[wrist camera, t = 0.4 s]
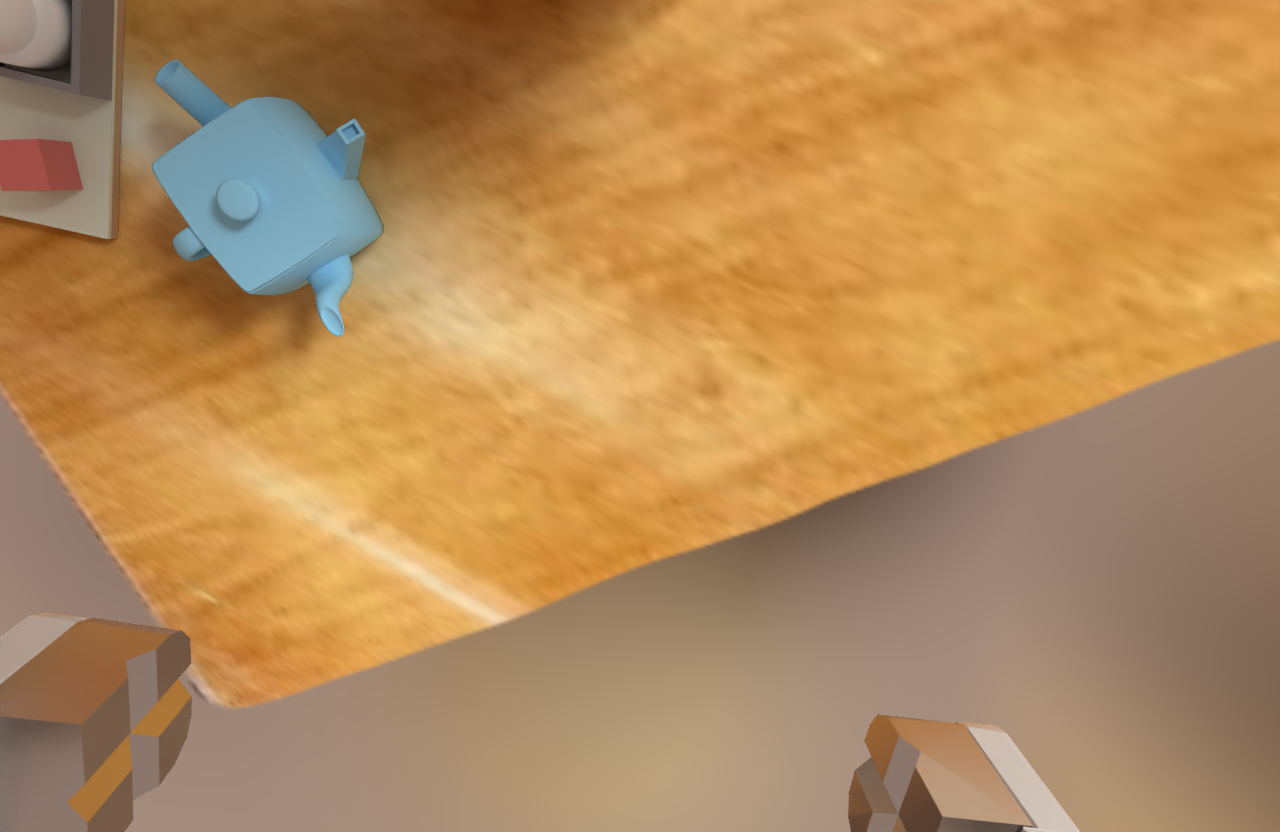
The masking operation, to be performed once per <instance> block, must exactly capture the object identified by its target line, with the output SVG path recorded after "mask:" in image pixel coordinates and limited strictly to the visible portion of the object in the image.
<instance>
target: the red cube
mask: <svg viewBox="0 0 1280 832" xmlns="http://www.w3.org/2000/svg"><path fill="white" fill-rule="evenodd" d="M0 187H1V191H60V190H83V187H82V183H81V179H80V175H79V170H78V166H77V162H76V158H75V154H74V150H73V146H72V142H65V141H55V140H45V139H12V140H0Z"/></svg>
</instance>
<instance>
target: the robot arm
mask: <svg viewBox="0 0 1280 832" xmlns="http://www.w3.org/2000/svg"><path fill="white" fill-rule="evenodd" d="M190 664H191V647H190V638H189V637H188V636H187V635H186V634H185V633H184V632H183V631H181V630H174V629H167V628H160V627H152V626H145V625H138V624H131V623H123V622H117V621H110V620H103V619H95V618H91V619H88V618H85V617H79V616H71V615H63V614H55V613H47V612H44V613H40V614H35V615H30V616H28V617H26V618H25V619H24V620H22V621H21V622H20V623H19V624H17V625H15V626H14V627H13V628H11V629H10V630H9V631H7V632H6V633H4V634H3V635H2V636H0V832H124V831H125V830H126V829H127V828H128V826H129V825H130V824H131V822H132V821H133V800H134V799H136V798H137V797H139V796H141V795H143V794H145V793H146V792H148V791H150V790H152V789H154V788H155V787H157V786H159V785H160V784H161V782H162V781H163V780H164V778H165V777H166V775H167V774H168V773H169V771H170V770H171V769H172V767H173V766H174V764H175V762H176V760H177V758H178V756H179V754H180V751H181V749H182V747H183V744H184V742H185V740H186V738H187V734H188V729H189V724H190V719H191V704H192V701H191V700H192V699H191V698H192V697H191V695H190V694H189V693H188V691H187V690H186V689H185V687H184V686H183V685H182V684H181V682H180V681H179V680H178V678H179V677H180V676H181V675H182V673H183V672H184V671H185V670H186V669H187V668H188V667H189V665H190ZM865 743H866V745H867V747H868V750H869V752H870V754H871V756H872V757H871V758H870V759H868V760H867V761H866V762H865V763H863V764H862V765H861V766H860V767H859V768H857V769H856V770H855V772H854V776H853V779H852V783H851V787H850V791H849V809H848V811H849V812H848V818H849V823H850V828H851V832H1080V831H1079V830H1078V829H1077V827H1076V826H1075V825H1074V823H1073V822H1072V821H1071V819H1070V818H1069V817H1068V815H1067V814H1066V813H1065V811H1064V810H1063V809H1062V807H1061V806H1060V804H1059V803H1058V802H1057V800H1056V799H1055V798H1054V796H1053V795H1052V794H1051V792H1050V791H1049V790H1048V788H1047V787H1046V786H1045V784H1044V783H1043V782H1042V780H1041V779H1040V778H1039V776H1038V775H1037V774H1036V772H1035V771H1034V770H1033V768H1032V767H1031V765H1030V764H1029V763H1028V762H1027V760H1026V759H1025V757H1024V756H1023V755H1022V753H1021V752H1020V751H1019V749H1018V748H1017V747H1016V746H1015V744H1014V743H1013V741H1012V740H1011V739H1010V737H1009V736H1008V735H1007V733H1006V732H1004V731H1003V730H1001V729H1000V728H998V727H997V726H995V725H987V724H975V723H964V722H955V723H949V722H939V721H931V720H922V719H914V718H905V717H897V716H896V717H895V716H888V715H879V714H878V715H877V716H876V717H875V718H874V720H873V721H872V722H871V724H870V726H869V729H868V732H867V735H866V738H865Z"/></svg>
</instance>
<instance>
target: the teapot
mask: <svg viewBox="0 0 1280 832" xmlns="http://www.w3.org/2000/svg"><path fill="white" fill-rule="evenodd" d="M154 81H155V83H156V84H157V85H158V86H160V87H161V88H162V89H163V90H164V91H165V92H166V93H167V94H168V95H169V96H171V97H172V98H173V99H174V100H175V101H176V102H177V103H178V104H179V105H180V106H181V107H183V108H184V109H185V110H186V111H187V112H188V113H189V114H190V115H191V116H192V117H194V118H195V119H196V120H197V121H198V122H199V123H200V124H201V125H202V126H203V127H202V128H201V129H199V130H198V131H196V132H195V133H193V134H192V135H190V136H189V137H188V138H186V139H185V140H183V141H182V142H180V143H179V144H177V145H176V146H175V147H173V148H172V149H170V150H169V151H168V152H166V153H165V154H164V155H162V156H161V157H160V158H159V159H157V160H156V161H155V162H154V163H153V164H152V169H153V172H154V174H155V175H156V177H157V179H158V181H159V182H160V184H161V186H162V187H163V189H164V190H165V192H166V193H167V195H168V196H169V198H170V199H171V201H172V202H173V203H174V205H175V206H176V208H177V209H178V211H179V212H180V213H181V215H182V216H183V218H184V219H185V220H186V222H187V223H188V225H189V226H188V227H187V228H185V229H184V230H182V231H181V232H180V233H178V234H177V235H176V236H175V237H174V239H173V246H174V248H175V250H176V252H177V253H178V254H179V256H180V257H182V258H183V259H184V260H186V261H195V260H198V259H201V258H204V257H207V256H210V255H213V257H214V258H215V259H216V260H217V261H218V263H219V264H220V265H221V266H222V268H223V269H224V270H225V271H226V272H227V273H228V275H229V276H230V277H231V278H232V279H233V280H234V281H235V282H236V283H237V284H238V286H239V287H241V288H242V289H243V290H244V291H245V292H247V293H249V294H256V295H279V294H285V293H289V292H292V291H295V290H297V289H299V288H301V287H302V286H304V285H306V284H308V283H310V285H311V286H312V288H313V290H314V292H315V294H316V307H317V311H318V314H319V316H320V318H321V320H322V322H323V324H324V325H325V326H326V328H327V329H328V330H329V331H330V332H331V333H332V334H334V335H335V336H342V335H343V333H344V324H343V321H342V318H341V315H340V312H339V302H340V300H341V299H342V297H343V296H344V295H345V294H346V292H347V291H348V289H349V288H350V286H351V283H352V280H353V268H352V264H351V260H350V257H352V256H353V255H355V254H356V253H358V252H359V251H360V250H362V249H363V248H365V247H366V246H367V245H369V244H370V243H372V242H373V241H374V240H376V239H377V238H378V237H379V236H380V235H381V234H382V233H383V231H384V227H383V223H382V221H381V218H380V216H379V214H378V212H377V211H376V209H375V207H374V205H373V203H372V202H371V200H370V198H369V196H368V195H367V193H366V191H365V190H364V188H363V186H362V185H361V183H360V181H359V180H358V175H359V169H360V163H361V158H362V152H363V147H364V141H365V135H366V134H365V133H364V131H363V130H362V128H361V127H360V125H359V124H358V122H357V121H356V119H355V118H354V119H352V120H351V121H349V122H347V123H346V124H344V125H342V126H341V127H339V128H337V129H336V131H335V132H333V133H332V134H331V135H329V136H327V135H326V133H325V132H324V131H323V130H322V128H321V127H320V126H319V124H318V123H317V122H316V121H315V120H314V118H313V117H312V116H311V115H310V114H309V113H308V112H307V111H306V110H305V109H304V108H303V107H302V106H301V105H299V104H298V103H296V102H294V101H292V100H289V99H285V98H278V97H259V98H251V99H247V100H245V101H242V102H241V103H239V104H237V105H236V106H234V107H232V108H231V107H230V106H229V105H228V104H227V103H226V102H224V101H223V100H222V99H221V98H220V97H219V96H218V95H217V94H216V93H214V92H213V91H212V90H211V89H210V88H209V87H208V86H207V85H206V84H204V83H203V82H202V81H201V80H200V79H199V78H198V77H197V76H195V75H194V74H193V73H192V72H191V71H190V70H189V69H188V68H187V67H185V66H184V65H183V64H182V63H181V62H180V61H179V60H177V59H175V60H172V61H170V62H168V63H166V64H165V65H164V66H163V67H162V68H161V69H160V70H159V71H158V73H157V74H156V76H155V80H154Z"/></svg>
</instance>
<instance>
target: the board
mask: <svg viewBox="0 0 1280 832" xmlns="http://www.w3.org/2000/svg"><path fill="white" fill-rule="evenodd" d="M124 10H125V0H72V56H71V63H70V64H69V65H67V66H65V67H64V68H61V69H59V70H55V71H39V70H34V69H29V68H25V67H20V66H16V65H11V64H7V63H2V62H0V140H12V139H45V140H55V141H65V142H72V146H73V150H74V154H75V158H76V162H77V166H78V170H79V175H80V179H81V183H82V187H83V190H60V191H1V187H0V215H1V216H5V217H10V218H14V219H19V220H23V221H28V222H32V223H37V224H41V225H46V226H50V227H55V228H59V229H64V230H68V231H73V232H77V233H82V234H86V235H91V236H95V237H100V238H104V239H118V207H119V174H120V141H121V108H122V76H123V43H124Z"/></svg>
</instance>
